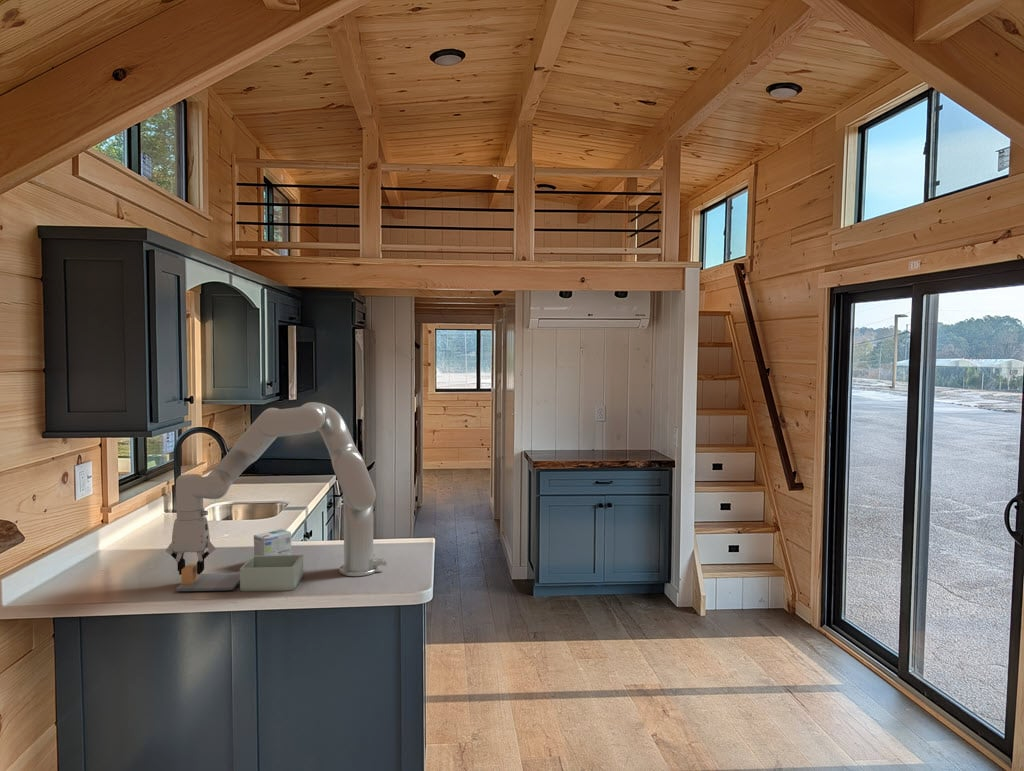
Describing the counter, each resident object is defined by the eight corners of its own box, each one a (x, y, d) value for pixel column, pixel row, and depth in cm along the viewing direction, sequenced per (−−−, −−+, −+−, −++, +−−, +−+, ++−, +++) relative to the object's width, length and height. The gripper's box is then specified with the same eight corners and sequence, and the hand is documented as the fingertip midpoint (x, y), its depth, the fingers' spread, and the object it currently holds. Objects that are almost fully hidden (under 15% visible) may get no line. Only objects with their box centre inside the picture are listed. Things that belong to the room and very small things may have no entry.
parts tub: (303, 578, 224) (303, 554, 224) (294, 592, 211) (294, 567, 211) (252, 579, 223) (252, 555, 222) (240, 594, 210) (239, 568, 209)
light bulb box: (281, 558, 243) (281, 528, 242) (292, 562, 238) (292, 531, 238) (253, 566, 234) (252, 534, 234) (264, 570, 230) (263, 538, 229)
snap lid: (246, 578, 223) (246, 559, 222) (232, 593, 209) (232, 572, 209) (193, 579, 221) (192, 559, 221) (176, 594, 208) (175, 573, 207)
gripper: (222, 511, 218) (223, 568, 219) (166, 512, 217) (167, 569, 218) (214, 517, 211) (215, 576, 211) (156, 518, 209) (157, 577, 210)
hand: (191, 572), depth 214 cm, fingers open, 4 cm apart
